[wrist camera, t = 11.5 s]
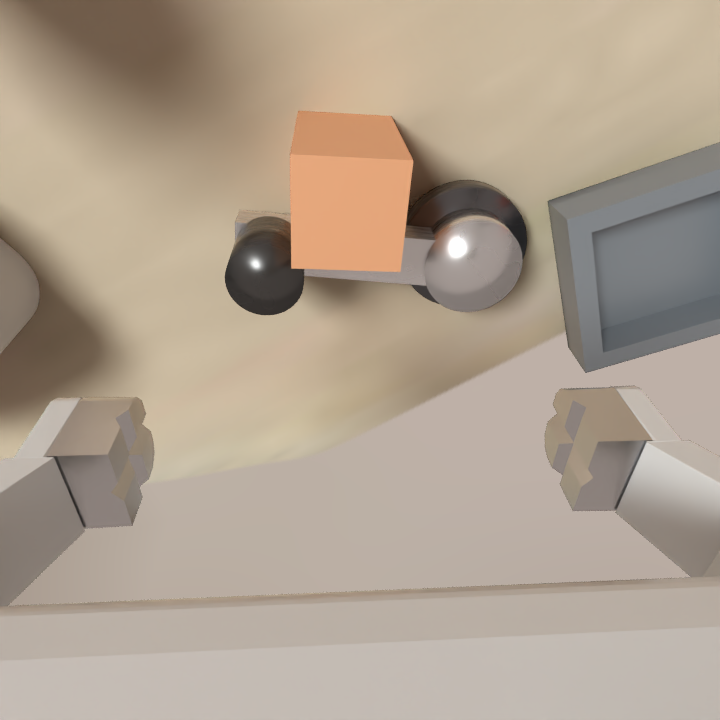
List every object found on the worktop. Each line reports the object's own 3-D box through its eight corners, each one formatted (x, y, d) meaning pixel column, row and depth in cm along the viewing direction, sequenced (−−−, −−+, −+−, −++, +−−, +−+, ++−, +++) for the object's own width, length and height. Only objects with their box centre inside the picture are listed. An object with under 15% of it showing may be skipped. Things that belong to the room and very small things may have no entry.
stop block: (391, 116, 23) (413, 160, 18) (383, 206, 26) (400, 272, 20) (298, 110, 23) (290, 154, 17) (298, 203, 25) (291, 268, 20)
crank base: (508, 161, 25) (515, 168, 24) (527, 273, 28) (535, 283, 27) (383, 205, 26) (385, 214, 25) (416, 309, 29) (420, 320, 28)
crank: (523, 212, 25) (558, 253, 21) (497, 298, 27) (525, 347, 23) (239, 184, 23) (223, 223, 19) (240, 277, 26) (226, 327, 22)
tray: (744, 133, 25) (782, 148, 23) (732, 297, 30) (762, 321, 28) (547, 201, 26) (566, 219, 24) (568, 347, 31) (585, 373, 29)
